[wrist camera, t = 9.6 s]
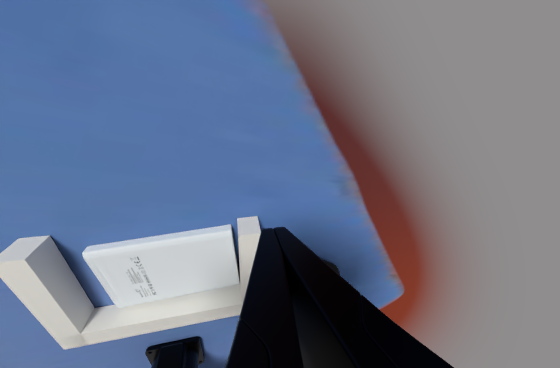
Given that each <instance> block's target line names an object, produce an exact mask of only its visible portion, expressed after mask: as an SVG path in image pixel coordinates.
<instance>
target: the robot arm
mask: <svg viewBox="0 0 560 368" xmlns="http://www.w3.org/2000/svg"><path fill="white" fill-rule="evenodd" d="M145 354H146V356H147V358H148V359H149V361H150V363H151V365H152V368H198V364H201V363H203V362H204V354H203V350H202V346H201V342H200V338H198V337H195V338H190V339H186V340H181V341H176V342H172V343H167V344H162V345H157V346H153V347H149V348H147V349H146V353H145ZM225 368H454V367H452V366H451V365H450V364H448V363H447V362H446V361H444V360H443V359H442V358H440V357H439V356H438V355H436V354H435V353H434V352H432V351H431V350H430V349H428V348H427V347H426V346H424V345H423V344H422V343H420V342H419V341H418V340H416V339H415V338H414V337H413V336H411V335H410V334H409V333H407V332H406V331H405V330H404V329H402V328H401V327H400V326H398V325H397V324H396V323H395V322H393V321H392V320H391V319H390V318H388V317H387V316H386V315H385V314H384V313H383V312H381V311H380V310H379V309H378V308H377V307H375V306H374V305H373V304H372V303H371V302H370V301H369V300H367V299H366V298H365V297H364V296H363V295H360V293H359V292H358V291H357V290H356V289H355V288H354V287H352V286H351V285H350V284H349V283H348V282H347V281H346V280H344V279H343V278H342V277H341V276H340V275H339V274H338V273H336V272H335V271H334V270H333V269H332V268H331V267H330V266H328V265H327V264H326V263H325V262H324V261H323V260H322V259H321V258H319V257H318V256H317V255H316V254H315V253H314V252H313V251H311V250H310V249H309V248H308V247H307V246H306V245H305V244H303V243H302V242H301V241H300V240H299V239H298V238H297V237H295V236H294V235H293V234H292V233H291V232H290V231H289V230H287V229H286V228H285V227H276V228H274V229H272V228H267V229H262V230H261V234H260V238H259V242H258V246H257V250H256V254H255V257H254V261H253V265H252V269H251V273H250V277H249V281H248V285H247V289H246V293H245V297H244V301H243V305H242V309H241V313H240V317H239V321H238V324H237V328H236V332H235V336H234V340H233V343H232V347H231V350H230V354H229V357H228V361H227V364H226V367H225Z"/></svg>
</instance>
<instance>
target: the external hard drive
mask: <svg viewBox="0 0 560 368" xmlns="http://www.w3.org/2000/svg"><path fill="white" fill-rule="evenodd" d="M82 255H83V258H84V260H85V261H86V263H87V264H88V266H89V267H90V268H91V270H92V271H93V273H94V274H95V276H96V277H97V279H98V280H99V281H100V283H101V284H102V286H103V287H104V289H105V290H106V292H107V293H108V295H109V296H110V298H111V299H112V301H113V302H114V304H115V305H116V307H118V308H123V307H128V306H133V305H138V304H143V303H148V302H153V301H158V300H163V299H168V298H173V297H178V296H183V295H188V294H193V293H198V292H203V291H208V290H213V289H218V288H223V287H228V286H233V285H238V284H240V277H239V271H238V264H237V258H236V252H235V245H234V239H233V233H232V226H231V224H230V225H223V226H217V227H210V228H204V229H197V230H191V231H184V232H178V233H171V234H165V235H158V236H152V237H145V238H139V239H132V240H126V241H119V242H112V243H106V244H99V245H93V246H88V247H87V248H86V249H85V250H84V251H83V253H82Z"/></svg>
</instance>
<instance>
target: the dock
mask: <svg viewBox="0 0 560 368" xmlns="http://www.w3.org/2000/svg"><path fill="white" fill-rule="evenodd" d="M237 227H238V248H239V269H240V284H238V285H233V286H228V287H223V288H218V289H213V290H208V291H203V292H198V293H193V294H188V295H183V296H178V297H173V298H168V299H163V300H158V301H153V302H148V303H143V304H138V305H133V306H128V307H123V308H118V307H116V305H110V306H104V307H97V308H94V306H93V304H92V303H91V301H90V300H89V298H88V296H87V295H86V293H85V291H84V290H83V288H82V287H81V285H80V283H79V282H78V280H77V279H76V277H75V275H74V274H73V272H72V271H71V269H70V267H69V266H68V264H67V262H66V261H65V259H64V258H63V256H62V254H61V253H60V251H59V250H58V248H57V246H56V245H55V243H54V241H53V240H52V238H51V237H50V235H49V236H39V237H28V238H19V239H17V240H16V241H15V242H14V243H13V244H11V245H10V246H9V247H8V248H7V249H5V250H4V251H3V252H2V253H0V278H1V279H2V280H3V281H4V282H5V283H6V284H7V286H8V287H9V288H10V289H11V290H12V291H13V292H14V293H15V295H16V296H17V297H18V298H19V299H20V300H21V301H22V303H23V304H24V305H25V306H26V307H27V308H28V309H29V310H30V312H31V313H32V314H33V315H34V316H35V317H36V318H37V320H38V321H39V322H40V323H41V324H42V325H43V326H44V327H45V329H46V330H47V331H48V332H49V333H50V334H51V335H52V337H53V338H54V339H55V340H56V341H57V342H58V343H59V344H60V346H61V347H62V348H63V349H64V350H65V349H70V348H75V347H80V346H85V345H90V344H95V343H100V342H105V341H110V340H115V339H120V338H126V337H131V336H136V335H141V334H146V333H151V332H156V331H161V330H166V329H171V328H176V327H181V326H186V325H191V324H196V323H201V322H206V321H211V320H216V319H222V318H227V317H232V316H237V315H240V313H241V309H242V305H243V301H244V297H245V293H246V289H247V285H248V281H249V277H250V273H251V269H252V265H253V261H254V257H255V254H256V250H257V246H258V242H259V238H260V234H261V231H260V226H259V221H258V217H257V216H255V217H244V218H237Z"/></svg>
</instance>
